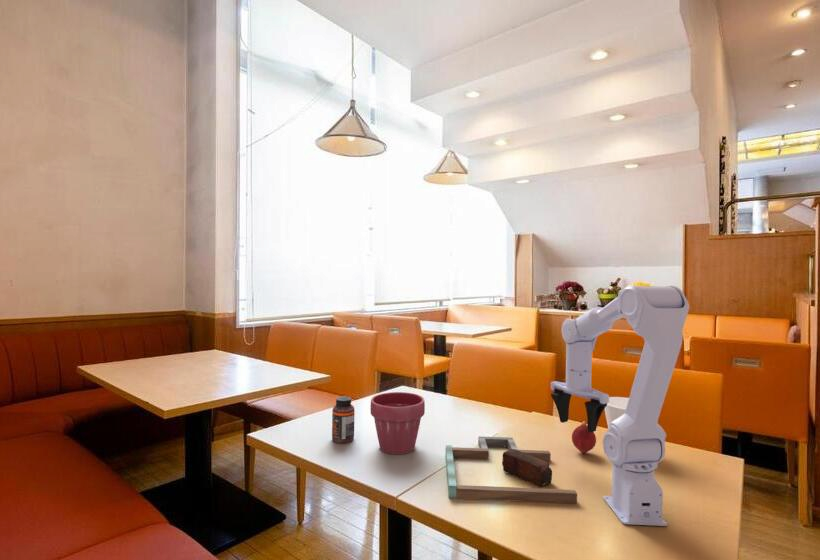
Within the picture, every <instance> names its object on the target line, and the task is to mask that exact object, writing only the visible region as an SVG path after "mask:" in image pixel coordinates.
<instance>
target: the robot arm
mask: <svg viewBox="0 0 820 560" xmlns="http://www.w3.org/2000/svg"><path fill="white" fill-rule="evenodd" d="M689 309H690V304H689V301H688V299H687V297H686V296H685V293H684V292H683V290H682V289H681V288H680V287H678V286H675V285H668V286H645V285H644V286H642V285H641V286H639V285H632V284H630V285H627V286H625V287H624V288H623V289H620V290H619V291H618V293H617V297H615V298H614V299H613V300H611V301H610V302H609V303H607V304H606V305H604V307H603V306H602V307H601V306H597V305H592V306H590V307H589V308H588V311H586V312H584V313H582V314H579V315H578V317H577V318H574V319H573V318H566V319H565V320H564V321H563V322H562V326H561V336H562V339H563V341H564V342H565V344H566V345H565V346H566V347H565V382H561V381H556V380H555V381H551V382H550V390H552V391H553V392H551V393H550V397H551V399H552V400H553V402H554V404H555V406H556V409H557V413H558V418H559V421H560V423H567V422H569V414H570V412H569V410H570V402H571V397H572V396H576V397H580V398H582V399H587V400H588V401H584V406H585V411H586V417H587V422H586V423H587V424H586V425H587V428H588V432H594V433H595V432H596V431H597V427H598V424H599V420H600V418H601V416H602V414H603V411H605V407H606V406H607V403H609V397H610V394H608V393H605V392H602V391H599V390H597V389H595V388H592V369H593V367H592V366H593V364H592V363H593V355H592V354H593V351H594V350H595V345H596V342H597V339H598V337H599V336H600V335H602V334H604V333H606V332H608V331H610V330H611V329H612V328H613V326H614V322H615V321H618V320H621V319H622V318H625V319H626V321H627V323H628V324H629V326H630V327H631V328H632V330H633V331H634V332H635V334H636V335H637V336H639V337H641V338H643V340H644V343H643V344H644V345H643V349H642V351H641V355H640V358H639V363H638V366H637V369H636V373H635V376H634V380H633V382H632V386H631V389H630V393H629V394H630V395H629V396H628V398H629V400H628V404H627V407H626V411H625V413H624V414H623V415H622V416H620V417H619V418H617V419H615V420H614V421H613V422H611V425H610V428H609V430H608V429H607V431H605V433H604V434H603V437H602V449H603V452H604V454H605V457H606V458H607V459H608V461H609V462H610V463H612V465H611V466H612V467H611V468H612V469H611V495H604V496H603V500H604V501H605V502H606V503H607V505H608V506H609V508H610V509H611V510H612V511H613V513H614V514H615V515H616V517H617V518H618V519H619V522H621V523H622V524H624V525H635V526H636V525H637V526H638V525H639V526H657V527H666V526H668V523H667V521H666V520H665V519H664V518H663V496H664V494H663V493H664V492H663V489H662V487H661V486H660V484H659V482H658V481H657V479H656V477H655V469H658V465H659V463H660V462H662V461H663V459H664V458H665V454H666V444H665V443H666V442H665V441H666V438H667V433H666V432H665V430H664V429H663V427H662V426H661V425H660V424H659V422H658V420H659V417H660V414H661V412H662V408H663V405H664V402H665V399H666V395H667V393H668V389H669V385H670V383H671V380H672V376H673V373H674V369H675V367H676V364H677V360H678V358H679V357H678V356H679V355H680V350H681V348H682V345H683V333H684V332H683V331H684V330H683V329H684V327H685V323H686V320H687V316H688V313H689Z"/></svg>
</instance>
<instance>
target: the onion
mask: <svg viewBox="0 0 820 560" xmlns="http://www.w3.org/2000/svg"><path fill="white" fill-rule="evenodd" d="M581 422H582V423H581V424H580V425H579V426H576V427H575V429H574V430H573V432H572V434H571V442H572V443H573V447H575V448H576V449H577V450H578V451H579V452H580V453H582V454H586V453H588V452H590V451H591V450H593V449H594V447H595V446H596V443H597V437H596V434H595V431H594V432H588V428H587V422H586V421H581Z"/></svg>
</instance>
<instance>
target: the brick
mask: <svg viewBox="0 0 820 560" xmlns="http://www.w3.org/2000/svg"><path fill="white" fill-rule="evenodd" d="M518 450H519V449H518ZM518 450H516V449H510V450H509V449H508V450H506V451H504V452H503V453H502V461H501V466H502V470H503V472H504V471H505V473H506V472H507V473H506V474H508V475H511V476H513V475H514V476H513V477H515V476H516V477H515V478H517V477H518V479H520V480H523V481H524V480H525V482H527V481H528V482H527V483H529V482H530V484H531V485H534V484H535V485H534V486H536V485H537V487H539V488H542V487H544V486H545V485H547V484H549V485H550V484H551V483H552V481H553V480H552V479H553V476H552V475H553V470H552V469H551V467H550V464H549V463H548V462H549V461H544V460H541V459H538V458H536V457H533V456H530V455H528V454H525V453H523V452H521V451H518Z"/></svg>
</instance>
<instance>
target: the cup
mask: <svg viewBox="0 0 820 560" xmlns="http://www.w3.org/2000/svg"><path fill="white" fill-rule="evenodd" d="M628 400H629V397H625V396H624V397H623V396H609V403H607V406H606V407H605V409H604V414H605V419H606V423H607V424H606V425H607V431H608V430H609V428H610V425H611V422H613V421H614V420H615V419H617V418H619V417H620V416H622V415H623V414H624V413H625V411H626V407H627V404H628Z"/></svg>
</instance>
